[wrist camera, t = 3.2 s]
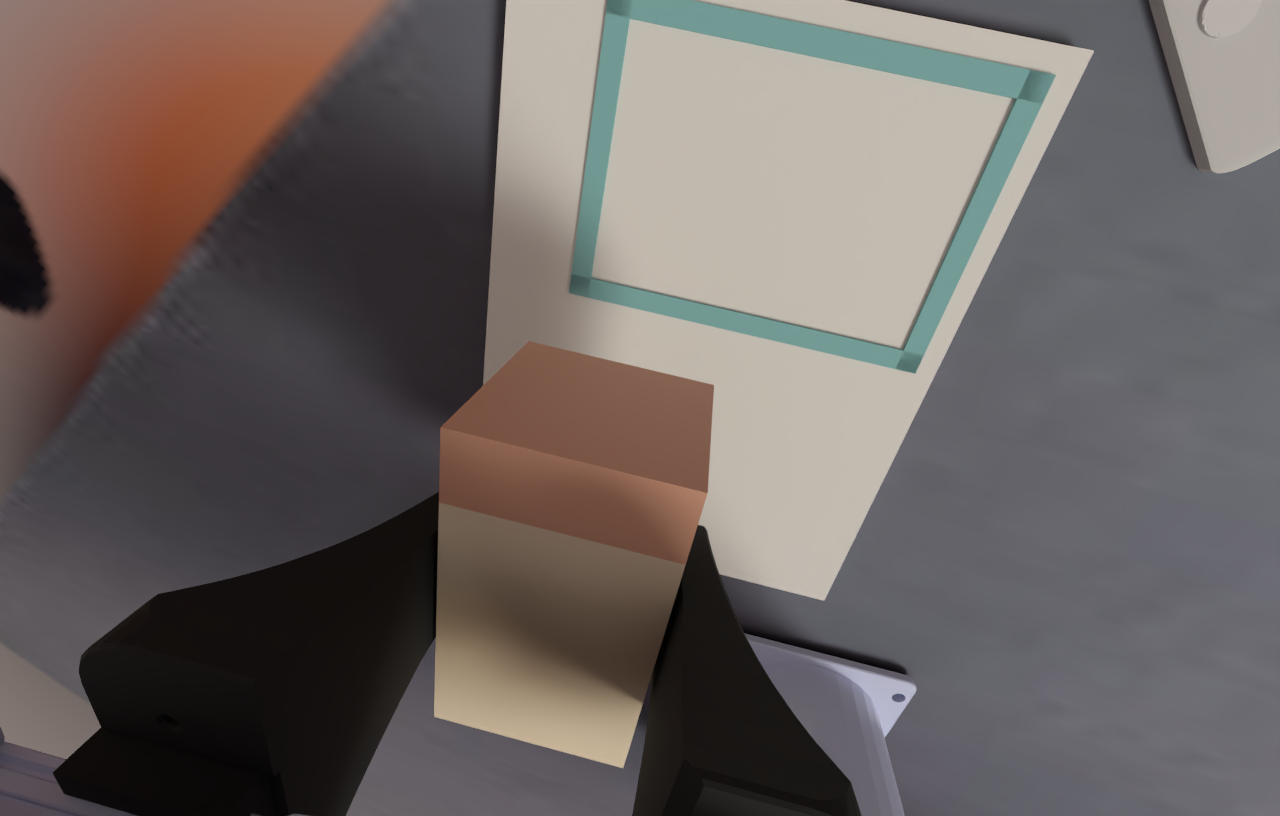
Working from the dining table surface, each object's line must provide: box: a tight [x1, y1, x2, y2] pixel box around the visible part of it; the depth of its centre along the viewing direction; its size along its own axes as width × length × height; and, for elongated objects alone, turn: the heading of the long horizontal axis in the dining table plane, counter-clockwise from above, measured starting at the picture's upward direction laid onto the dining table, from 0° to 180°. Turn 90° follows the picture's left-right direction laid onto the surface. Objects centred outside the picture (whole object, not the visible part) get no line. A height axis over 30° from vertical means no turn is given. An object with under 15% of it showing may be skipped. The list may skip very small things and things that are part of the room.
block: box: [434, 341, 714, 768], centre depth 13 cm, size 8×5×4 cm, turn 169°
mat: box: [483, 0, 1094, 601], centre depth 17 cm, size 18×14×1 cm
